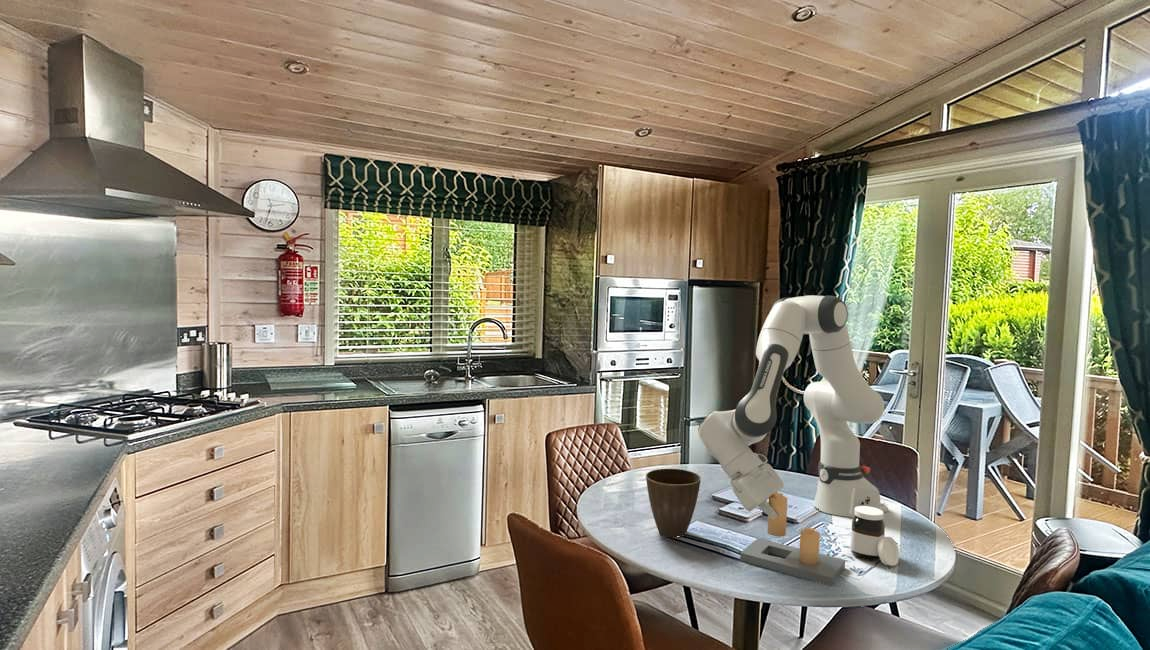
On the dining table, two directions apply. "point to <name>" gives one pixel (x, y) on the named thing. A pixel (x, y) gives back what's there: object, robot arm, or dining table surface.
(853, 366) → the robot arm
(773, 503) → the orange peg
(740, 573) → the dining table surface
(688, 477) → the plant pot
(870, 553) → the spread jar
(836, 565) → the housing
